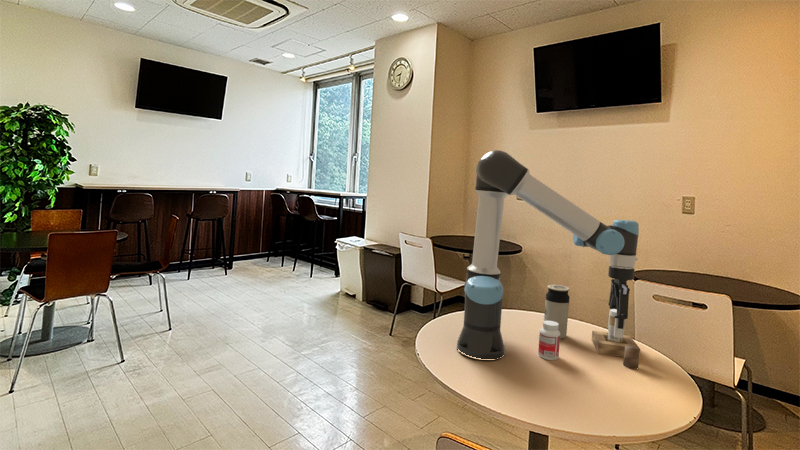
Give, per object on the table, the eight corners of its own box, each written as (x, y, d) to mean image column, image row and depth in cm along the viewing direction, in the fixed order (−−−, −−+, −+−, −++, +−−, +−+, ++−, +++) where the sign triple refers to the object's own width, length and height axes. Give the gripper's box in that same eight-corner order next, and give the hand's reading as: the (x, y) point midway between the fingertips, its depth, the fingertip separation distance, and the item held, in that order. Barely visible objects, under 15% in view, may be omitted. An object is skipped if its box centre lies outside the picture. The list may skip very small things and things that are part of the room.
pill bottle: (549, 351, 132) (552, 318, 130) (562, 359, 126) (565, 325, 125) (533, 353, 129) (536, 320, 128) (546, 361, 124) (549, 327, 123)
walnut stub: (625, 368, 122) (626, 349, 121) (621, 362, 125) (623, 344, 125) (639, 370, 120) (641, 351, 120) (636, 364, 124) (638, 346, 124)
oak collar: (597, 353, 132) (598, 343, 131) (591, 340, 143) (592, 330, 143) (638, 359, 128) (639, 348, 128) (628, 345, 140) (629, 335, 140)
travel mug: (568, 334, 148) (572, 286, 146) (563, 341, 141) (568, 291, 140) (545, 329, 152) (549, 283, 150) (540, 335, 146) (544, 287, 144)
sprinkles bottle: (624, 350, 135) (628, 311, 134) (616, 352, 133) (621, 313, 131) (610, 345, 139) (614, 307, 138) (603, 347, 136) (607, 309, 135)
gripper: (644, 274, 122) (636, 345, 124) (626, 262, 142) (620, 324, 144) (616, 271, 124) (609, 342, 126) (603, 260, 144) (597, 321, 146)
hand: (615, 332), depth 135 cm, fingers open, 8 cm apart
